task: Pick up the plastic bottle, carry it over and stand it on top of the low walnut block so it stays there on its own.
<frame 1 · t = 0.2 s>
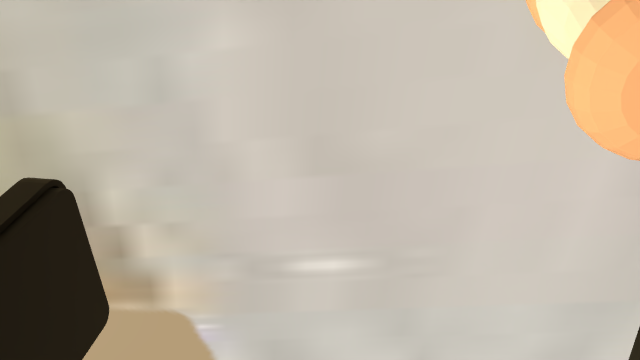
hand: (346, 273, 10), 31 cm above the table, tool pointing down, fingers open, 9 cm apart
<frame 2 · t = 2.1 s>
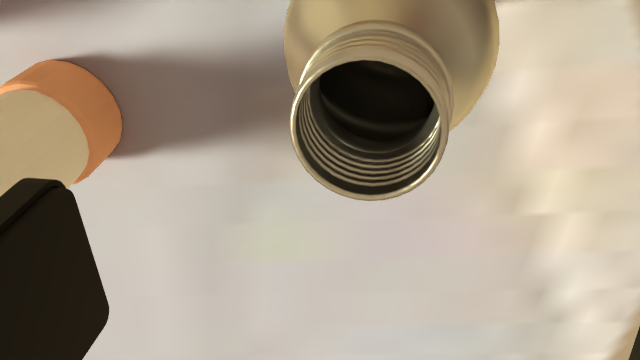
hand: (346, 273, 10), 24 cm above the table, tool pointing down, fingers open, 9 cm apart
pepper shaker: (72, 110, 39), on the table
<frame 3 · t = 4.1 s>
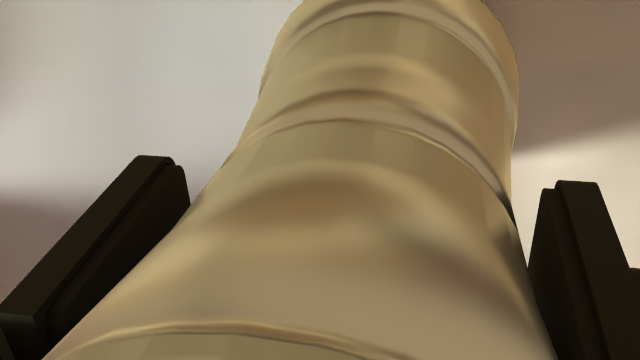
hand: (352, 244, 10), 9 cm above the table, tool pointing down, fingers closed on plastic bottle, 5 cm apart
plastic bottle: (395, 62, 17), on the table, touching gripper
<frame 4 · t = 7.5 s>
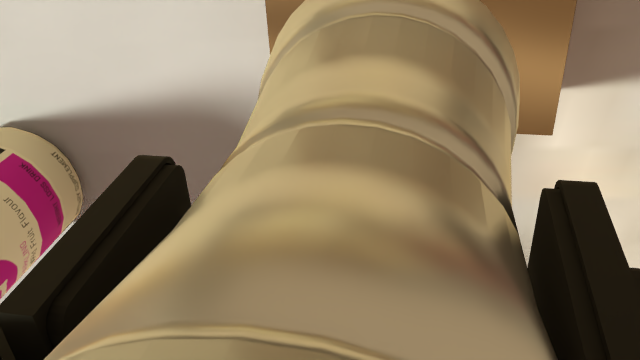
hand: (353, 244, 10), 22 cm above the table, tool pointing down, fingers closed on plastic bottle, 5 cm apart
supplement can: (34, 173, 41), on the table
plastic bottle: (395, 62, 17), point 14 cm above the table, touching gripper
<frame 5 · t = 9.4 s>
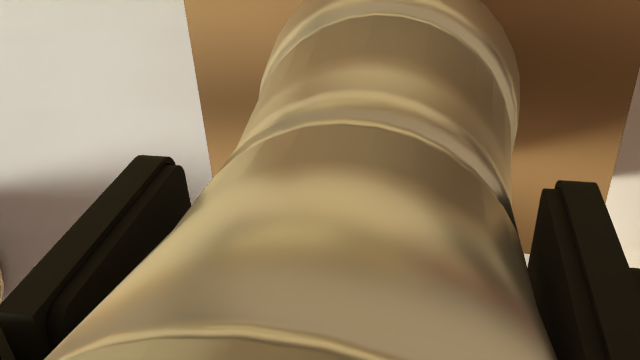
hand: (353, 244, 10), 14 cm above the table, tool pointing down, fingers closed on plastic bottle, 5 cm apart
walnut block: (411, 18, 22), on the table
plastic bottle: (396, 63, 17), point 5 cm above the table, touching gripper
when the fingers open (14 cm above the table, at t = 11.0 s): plastic bottle stays where it is, resting on walnut block.
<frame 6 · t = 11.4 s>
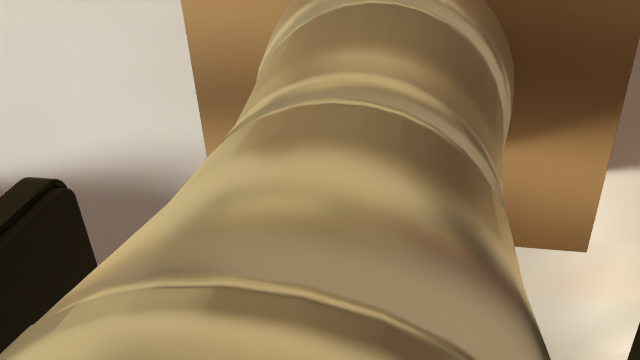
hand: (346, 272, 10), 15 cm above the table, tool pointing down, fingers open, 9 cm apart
walnut block: (407, 13, 22), on the table
plastic bottle: (393, 54, 18), point 5 cm above the table, touching walnut block
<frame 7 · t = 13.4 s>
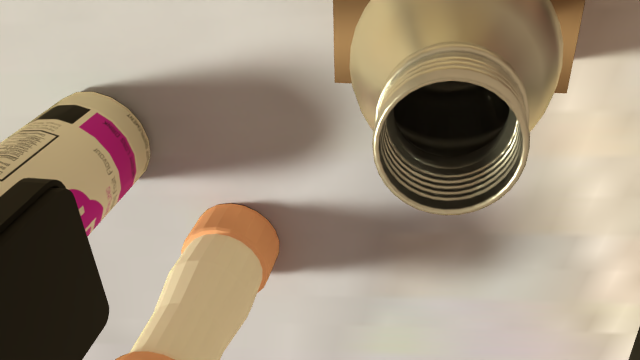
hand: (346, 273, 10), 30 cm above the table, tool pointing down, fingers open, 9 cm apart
supplement can: (106, 135, 47), on the table
pepper shaker: (238, 237, 50), on the table
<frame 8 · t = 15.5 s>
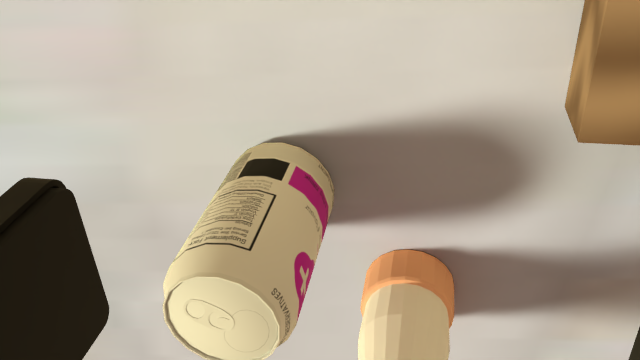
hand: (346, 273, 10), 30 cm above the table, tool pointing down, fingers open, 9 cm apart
supplement can: (284, 182, 46), on the table
pepper shaker: (409, 282, 49), on the table
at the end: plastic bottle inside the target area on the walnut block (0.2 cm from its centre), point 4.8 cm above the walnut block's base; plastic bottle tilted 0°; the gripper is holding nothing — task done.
